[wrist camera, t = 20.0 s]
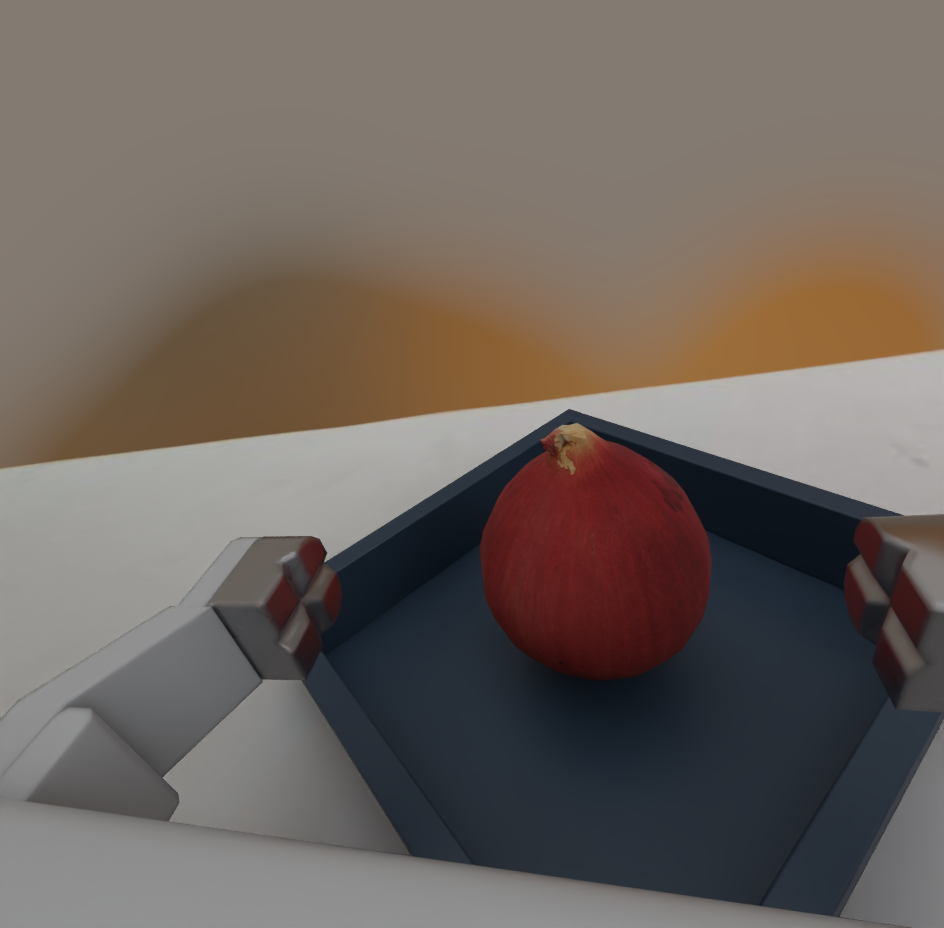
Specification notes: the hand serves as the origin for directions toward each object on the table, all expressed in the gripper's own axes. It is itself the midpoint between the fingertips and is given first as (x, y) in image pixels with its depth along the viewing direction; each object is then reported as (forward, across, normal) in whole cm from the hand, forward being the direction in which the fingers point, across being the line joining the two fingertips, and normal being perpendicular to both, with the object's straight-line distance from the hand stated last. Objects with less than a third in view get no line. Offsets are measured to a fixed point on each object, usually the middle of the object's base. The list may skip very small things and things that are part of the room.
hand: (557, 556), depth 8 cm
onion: (+4, 0, +8) cm, 9 cm away
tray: (+4, 0, +9) cm, 10 cm away
